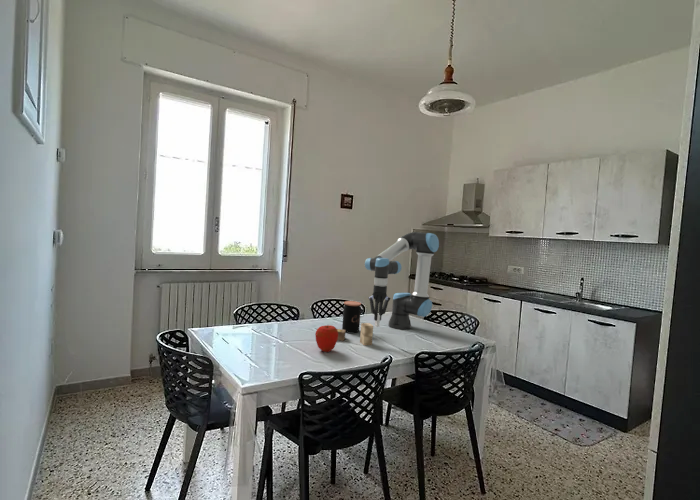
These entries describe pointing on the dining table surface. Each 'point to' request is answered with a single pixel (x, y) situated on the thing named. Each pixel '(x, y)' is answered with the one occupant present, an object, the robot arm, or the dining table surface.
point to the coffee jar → (351, 316)
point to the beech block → (366, 334)
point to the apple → (326, 337)
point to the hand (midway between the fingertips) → (377, 326)
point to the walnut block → (341, 334)
